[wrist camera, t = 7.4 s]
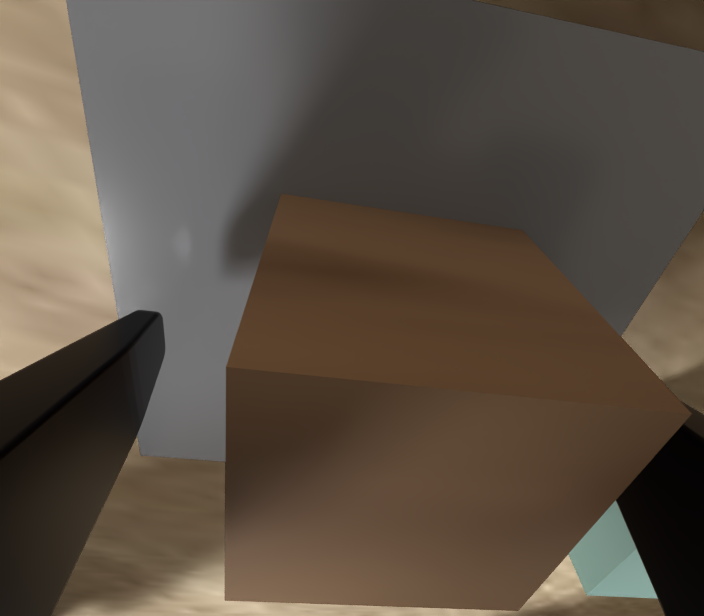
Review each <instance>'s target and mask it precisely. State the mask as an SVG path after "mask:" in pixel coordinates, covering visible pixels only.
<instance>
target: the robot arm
mask: <svg viewBox="0 0 704 616" xmlns="http://www.w3.org/2000/svg"><path fill="white" fill-rule="evenodd" d="M165 348H166V347H165V335H164V324H163V317H162V315H161V314H160V313H159V312H156V311H147V310H136V311H134V312H132V313H130V314H128V315H126V316H124V317H122V318H120V319H118V320H116V321H114V322H112V323H111V324H109V325H107V326H105V327H103V328H101V329H99V330H97V331H95V332H93V333H91V334H89V335H87V336H85V337H83V338H81V339H79V340H78V341H76V342H74V343H72V344H70V345H68V346H66V347H64V348H62V349H60V350H58V351H56V352H54V353H52V354H50V355H48V356H46V357H45V358H43V359H41V360H39V361H37V362H35V363H33V364H31V365H29V366H27V367H25V368H23V369H21V370H19V371H17V372H15V373H13V374H12V375H10V376H8V377H6V378H4V379H2V380H0V616H51V615H52V613H53V611H54V609H55V606H56V604H57V602H58V600H59V598H60V596H61V594H62V592H63V590H64V588H65V586H66V583H67V581H68V579H69V577H70V575H71V573H72V571H73V569H74V567H75V565H76V562H77V560H78V558H79V556H80V554H81V552H82V550H83V548H84V546H85V544H86V541H87V539H88V537H89V535H90V533H91V531H92V529H93V527H94V525H95V523H96V521H97V518H98V516H99V514H100V512H101V510H102V508H103V506H104V504H105V502H106V500H107V497H108V495H109V493H110V491H111V489H112V487H113V485H114V483H115V481H116V479H117V477H118V474H119V472H120V470H121V468H122V466H123V464H124V462H125V460H126V458H127V456H128V453H129V451H130V449H131V447H132V445H133V443H134V441H135V439H136V436H137V434H138V432H139V430H140V427H141V425H142V422H143V419H144V416H145V413H146V410H147V407H148V404H149V401H150V398H151V395H152V392H153V389H154V386H155V383H156V380H157V377H158V374H159V371H160V369H161V366H162V363H163V360H164V356H165ZM681 403H682V404H683V405H684V406H685V407H686V408H687V409H688V410H689V411H690V412H691V413H692V414H691V416H690V417H689V418H688V419H687V420H686V421H685V422H684V423H683V425H682V426H681V427H680V428H679V429H678V430H677V431H676V433H675V434H674V435H673V436H672V437H671V438H670V439H669V440H668V442H667V443H666V444H665V445H664V446H663V447H662V448H661V450H660V451H659V452H658V453H657V454H656V455H655V456H654V457H653V459H652V460H651V461H650V462H649V463H648V464H647V465H646V467H645V468H644V469H643V470H642V471H641V472H640V473H639V474H638V476H637V477H636V478H635V479H634V480H633V481H632V482H631V484H630V485H629V486H628V487H627V488H626V489H625V490H624V491H623V493H622V494H621V495H620V496H619V497H618V498H617V499H616V502H617V505H618V507H619V509H620V512H621V514H622V516H623V519H624V521H625V523H626V526H627V528H628V530H629V533H630V535H631V537H632V540H633V542H634V544H635V547H636V549H637V551H638V554H639V556H640V558H641V561H642V563H643V565H644V568H645V570H646V572H647V575H648V577H649V579H650V581H651V584H652V586H653V588H654V591H655V593H656V595H657V598H658V600H659V602H660V605H661V607H662V609H663V612H664V614H665V616H704V415H703V414H701V413H700V412H698V411H696V410H695V409H693V408H691V407H690V406H688V405H686V404H685V403H683V402H682V401H681Z"/></svg>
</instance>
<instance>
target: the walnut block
mask: <svg viewBox="0 0 704 616" xmlns="http://www.w3.org/2000/svg"><path fill="white" fill-rule="evenodd" d="M691 414H692V413H691V412H690V411H689V410H688V409H687V408H686V407H685V406H684V405H683V404H682V403H681V401H680V400H679V399H678V398H677V397H676V396H675V395H674V394H673V393H672V392H671V391H670V390H669V388H668V387H667V386H666V385H665V384H664V383H663V382H662V381H661V380H660V379H659V378H658V377H657V375H656V374H655V373H654V372H653V371H652V370H651V369H650V368H649V367H648V366H647V365H646V364H645V362H644V361H643V360H642V359H641V358H640V357H639V356H638V355H637V354H636V353H635V352H634V350H633V349H632V348H631V347H630V346H629V345H628V344H627V343H626V342H625V341H624V340H623V339H622V337H621V336H620V335H619V334H618V333H617V332H616V331H615V330H614V329H613V328H612V327H611V326H610V324H609V323H608V322H607V321H606V320H605V319H604V318H603V317H602V316H601V315H600V314H599V312H598V311H597V310H596V309H595V308H594V307H593V306H592V305H591V304H590V303H589V302H588V301H587V299H586V298H585V297H584V296H583V295H582V294H581V293H580V292H579V291H578V290H577V289H576V288H575V286H574V285H573V284H572V283H571V282H570V281H569V280H568V279H567V278H566V277H565V276H564V275H563V273H562V272H561V271H560V270H559V269H558V268H557V267H556V266H555V265H554V264H553V263H552V261H551V260H550V259H549V258H548V257H547V256H546V255H545V254H544V253H543V252H542V251H541V250H540V248H539V247H538V246H537V245H536V244H535V243H534V242H533V241H532V240H531V239H530V238H529V237H528V235H527V234H526V233H525V232H524V231H523V230H517V229H511V228H504V227H498V226H491V225H485V224H478V223H471V222H465V221H458V220H452V219H445V218H438V217H432V216H425V215H419V214H412V213H406V212H399V211H392V210H386V209H379V208H373V207H366V206H359V205H353V204H346V203H340V202H333V201H326V200H320V199H313V198H307V197H300V196H294V195H287V194H281V196H280V199H279V202H278V205H277V209H276V212H275V215H274V218H273V221H272V224H271V227H270V231H269V234H268V237H267V240H266V243H265V246H264V249H263V252H262V256H261V259H260V262H259V265H258V268H257V271H256V274H255V278H254V281H253V284H252V287H251V290H250V293H249V296H248V300H247V303H246V306H245V309H244V312H243V315H242V318H241V321H240V325H239V328H238V331H237V334H236V337H235V340H234V343H233V347H232V350H231V353H230V356H229V359H228V362H227V365H226V458H225V601H253V602H281V603H310V604H338V605H366V606H395V607H423V608H451V609H480V610H508V611H518V610H519V609H520V608H521V607H522V606H523V605H524V604H525V602H526V601H527V600H528V599H529V598H530V597H531V596H532V595H533V593H534V592H535V591H536V590H537V589H538V588H539V587H540V585H541V584H542V583H543V582H544V581H545V580H546V579H547V578H548V576H549V575H550V574H551V573H552V572H553V571H554V570H555V568H556V567H557V566H558V565H559V564H560V563H561V562H562V561H563V559H564V558H565V557H566V556H567V555H568V554H569V553H570V552H571V550H572V549H573V548H574V547H575V546H576V545H577V544H578V542H579V541H580V540H581V539H582V538H583V537H584V536H585V535H586V533H587V532H588V531H589V530H590V529H591V528H592V527H593V525H594V524H595V523H596V522H597V521H598V520H599V519H600V518H601V516H602V515H603V514H604V513H605V512H606V511H607V510H608V508H609V507H610V506H611V505H612V504H613V503H614V502H615V501H616V499H617V498H618V497H619V496H620V495H621V494H622V493H623V491H624V490H625V489H626V488H627V487H628V486H629V485H630V484H631V482H632V481H633V480H634V479H635V478H636V477H637V476H638V474H639V473H640V472H641V471H642V470H643V469H644V468H645V467H646V465H647V464H648V463H649V462H650V461H651V460H652V459H653V457H654V456H655V455H656V454H657V453H658V452H659V451H660V450H661V448H662V447H663V446H664V445H665V444H666V443H667V442H668V440H669V439H670V438H671V437H672V436H673V435H674V434H675V433H676V431H677V430H678V429H679V428H680V427H681V426H682V425H683V423H684V422H685V421H686V420H687V419H688V418H689V417H690V416H691Z"/></svg>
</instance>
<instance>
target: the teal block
mask: <svg viewBox="0 0 704 616" xmlns="http://www.w3.org/2000/svg"><path fill="white" fill-rule="evenodd" d="M569 557H570V559H571V561H572V563H573V566H574V568H575V570H576V572H577V575H578V577H579V579H580V581H581V584H582V586H583V588H584V590H585V593H586V595H591V596H613V597H636V598H657V595H656V593H655V591H654V588H653V586H652V584H651V581H650V579H649V577H648V575H647V572H646V570H645V568H644V565H643V563H642V561H641V558H640V556H639V554H638V551H637V549H636V547H635V544H634V542H633V540H632V537H631V535H630V533H629V530H628V528H627V526H626V523H625V521H624V519H623V516H622V514H621V512H620V509H619V507H618V505H617V502H616V501H615V502H614V503H613V504H612V505H611V506H610V507H609V508H608V510H607V511H606V512H605V513H604V514H603V515H602V516H601V518H600V519H599V520H598V521H597V522H596V523H595V524H594V525H593V527H592V528H591V529H590V530H589V531H588V532H587V533H586V535H585V536H584V537H583V538H582V539H581V540H580V541H579V542H578V544H577V545H576V546H575V547H574V548H573V549H572V550H571V552H570V553H569Z"/></svg>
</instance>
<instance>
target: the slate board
mask: <svg viewBox="0 0 704 616" xmlns="http://www.w3.org/2000/svg"><path fill="white" fill-rule="evenodd" d="M66 2H67V9H68V15H69V21H70V27H71V33H72V39H73V45H74V51H75V57H76V63H77V70H78V76H79V82H80V88H81V94H82V100H83V106H84V112H85V118H86V125H87V131H88V137H89V143H90V149H91V155H92V161H93V167H94V173H95V179H96V186H97V192H98V198H99V204H100V210H101V216H102V222H103V228H104V234H105V240H106V247H107V253H108V259H109V265H110V271H111V277H112V283H113V289H114V295H115V301H116V308H117V314H118V319H120V318H122V317H124V316H126V315H128V314H130V313H132V312H134V311H136V310H147V311H156V312H159V313H160V314H161V315H162V317H163V324H164V335H165V347H166V348H165V356H164V360H163V363H162V366H161V369H160V371H159V374H158V377H157V380H156V383H155V386H154V389H153V392H152V395H151V398H150V401H149V404H148V407H147V410H146V413H145V416H144V419H143V422H142V425H141V427H140V430H139V432H138V434H137V436H138V442H139V448H140V454H141V455H142V456H155V457H168V458H181V459H195V460H208V461H221V462H225V458H226V365H227V362H228V359H229V356H230V353H231V350H232V347H233V343H234V340H235V337H236V334H237V331H238V328H239V325H240V321H241V318H242V315H243V312H244V309H245V306H246V303H247V300H248V296H249V293H250V290H251V287H252V284H253V281H254V278H255V274H256V271H257V268H258V265H259V262H260V259H261V256H262V252H263V249H264V246H265V243H266V240H267V237H268V234H269V231H270V227H271V224H272V221H273V218H274V215H275V212H276V209H277V205H278V202H279V199H280V196H281V194H287V195H294V196H300V197H307V198H313V199H320V200H326V201H333V202H340V203H346V204H353V205H359V206H366V207H373V208H379V209H386V210H392V211H399V212H406V213H412V214H419V215H425V216H432V217H438V218H445V219H452V220H458V221H465V222H471V223H478V224H485V225H491V226H498V227H504V228H511V229H517V230H523V231H524V232H525V233H526V234H527V235H528V237H529V238H530V239H531V240H532V241H533V242H534V243H535V244H536V245H537V246H538V247H539V248H540V250H541V251H542V252H543V253H544V254H545V255H546V256H547V257H548V258H549V259H550V260H551V261H552V263H553V264H554V265H555V266H556V267H557V268H558V269H559V270H560V271H561V272H562V273H563V275H564V276H565V277H566V278H567V279H568V280H569V281H570V282H571V283H572V284H573V285H574V286H575V288H576V289H577V290H578V291H579V292H580V293H581V294H582V295H583V296H584V297H585V298H586V299H587V301H588V302H589V303H590V304H591V305H592V306H593V307H594V308H595V309H596V310H597V311H598V312H599V314H600V315H601V316H602V317H603V318H604V319H605V320H606V321H607V322H608V323H609V324H610V326H611V327H612V328H613V329H614V330H615V331H616V332H617V333H618V334H619V335H620V336H621V335H622V334H623V332H624V331H625V329H626V328H627V326H628V325H629V323H630V322H631V320H632V319H633V317H634V316H635V314H636V313H637V311H638V310H639V308H640V306H641V305H642V303H643V302H644V300H645V299H646V297H647V296H648V294H649V293H650V291H651V290H652V288H653V287H654V285H655V284H656V282H657V281H658V279H659V278H660V276H661V275H662V273H663V271H664V270H665V268H666V267H667V265H668V264H669V262H670V261H671V259H672V258H673V256H674V255H675V253H676V252H677V250H678V249H679V247H680V246H681V244H682V243H683V241H684V239H685V238H686V236H687V235H688V233H689V232H690V230H691V229H692V227H693V226H694V224H695V223H696V221H697V220H698V218H699V217H700V215H701V214H702V212H703V211H704V52H703V51H699V50H694V49H690V48H685V47H681V46H676V45H672V44H667V43H663V42H658V41H654V40H649V39H645V38H640V37H636V36H631V35H627V34H622V33H618V32H613V31H609V30H604V29H600V28H595V27H591V26H586V25H582V24H577V23H573V22H568V21H564V20H559V19H555V18H550V17H546V16H541V15H537V14H532V13H528V12H523V11H519V10H514V9H510V8H505V7H501V6H496V5H492V4H487V3H483V2H478V1H474V0H66Z"/></svg>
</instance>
